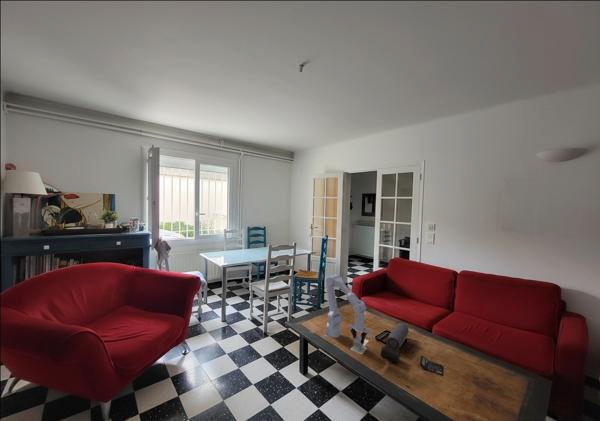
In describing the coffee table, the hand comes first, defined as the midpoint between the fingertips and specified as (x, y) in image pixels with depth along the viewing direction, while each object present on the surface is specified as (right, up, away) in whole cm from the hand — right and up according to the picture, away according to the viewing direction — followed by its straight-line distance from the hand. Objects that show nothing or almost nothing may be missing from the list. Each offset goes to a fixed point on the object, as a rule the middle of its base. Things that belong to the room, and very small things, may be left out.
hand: (358, 341), depth 158 cm
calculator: (+39, -8, -13) cm, 42 cm away
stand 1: (+4, -6, +9) cm, 11 cm away
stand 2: (0, -6, 0) cm, 6 cm away
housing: (0, -2, +1) cm, 2 cm away
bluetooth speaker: (+29, -7, +9) cm, 31 cm away
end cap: (+18, -7, -7) cm, 21 cm away
